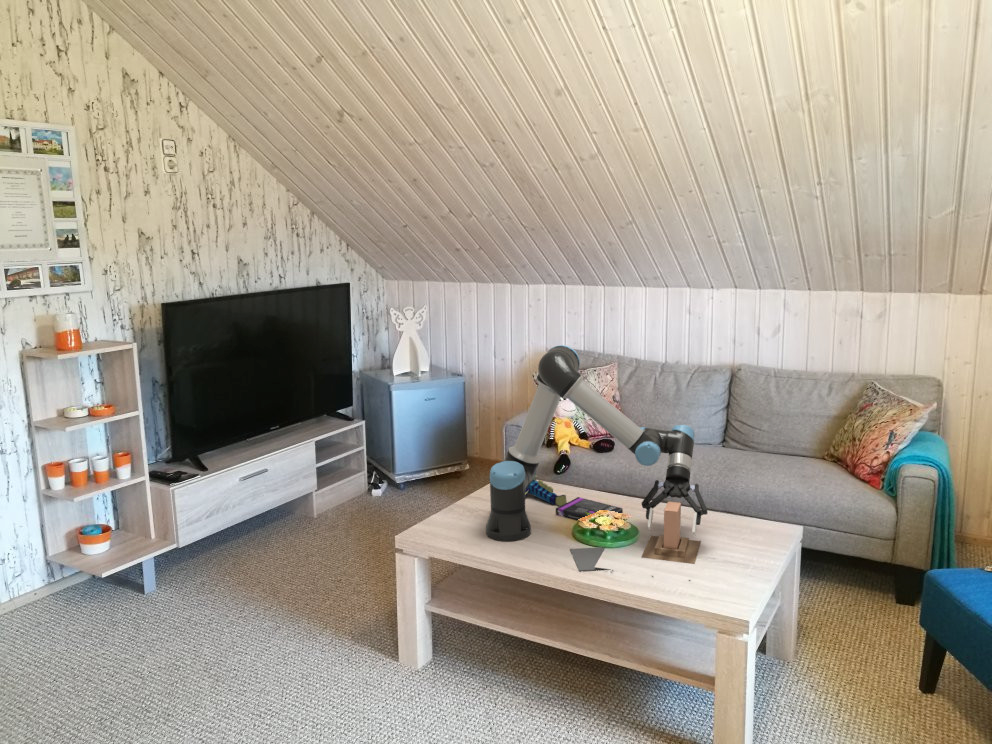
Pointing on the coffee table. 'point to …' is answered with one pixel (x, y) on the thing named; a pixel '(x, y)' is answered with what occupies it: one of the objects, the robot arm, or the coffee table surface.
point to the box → (583, 508)
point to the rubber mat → (587, 558)
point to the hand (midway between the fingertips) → (671, 531)
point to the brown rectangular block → (672, 525)
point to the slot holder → (672, 550)
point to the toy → (545, 493)
